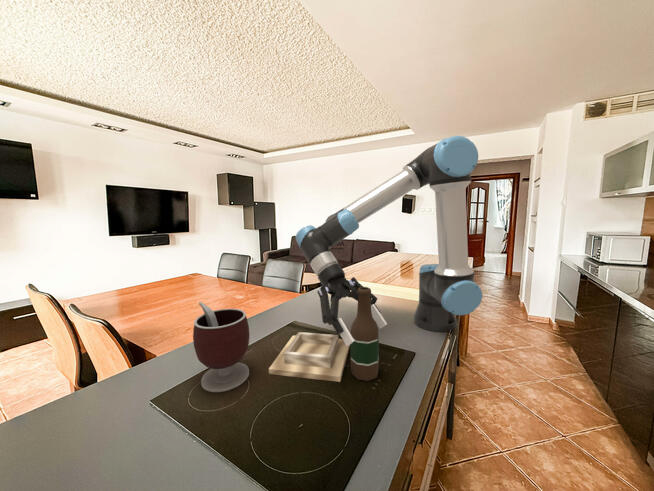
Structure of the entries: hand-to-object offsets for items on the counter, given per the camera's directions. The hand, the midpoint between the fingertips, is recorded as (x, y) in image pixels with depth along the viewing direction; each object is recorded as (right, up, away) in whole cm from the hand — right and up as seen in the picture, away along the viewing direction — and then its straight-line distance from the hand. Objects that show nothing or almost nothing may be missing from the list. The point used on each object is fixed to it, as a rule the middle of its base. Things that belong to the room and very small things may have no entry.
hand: (368, 334), depth 70 cm
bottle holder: (-15, -11, +11) cm, 22 cm away
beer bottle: (-1, -12, +3) cm, 12 cm away
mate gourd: (-39, -13, +3) cm, 41 cm away
